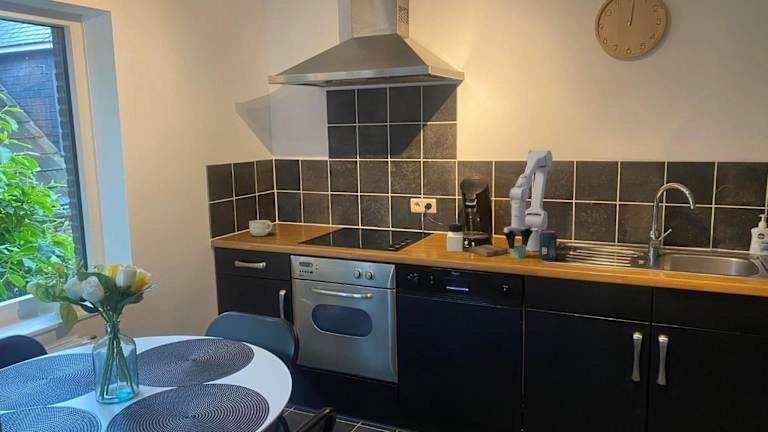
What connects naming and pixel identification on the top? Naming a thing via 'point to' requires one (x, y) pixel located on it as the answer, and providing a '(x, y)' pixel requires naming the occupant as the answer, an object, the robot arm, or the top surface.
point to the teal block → (518, 251)
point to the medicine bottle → (455, 238)
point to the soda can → (547, 245)
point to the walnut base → (488, 250)
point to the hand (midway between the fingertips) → (518, 247)
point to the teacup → (260, 227)
